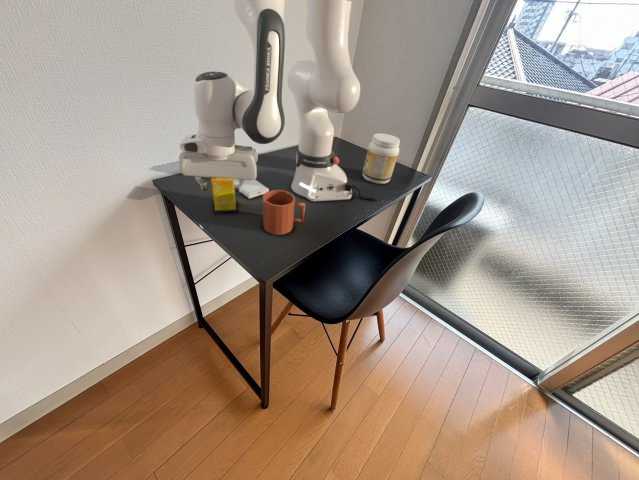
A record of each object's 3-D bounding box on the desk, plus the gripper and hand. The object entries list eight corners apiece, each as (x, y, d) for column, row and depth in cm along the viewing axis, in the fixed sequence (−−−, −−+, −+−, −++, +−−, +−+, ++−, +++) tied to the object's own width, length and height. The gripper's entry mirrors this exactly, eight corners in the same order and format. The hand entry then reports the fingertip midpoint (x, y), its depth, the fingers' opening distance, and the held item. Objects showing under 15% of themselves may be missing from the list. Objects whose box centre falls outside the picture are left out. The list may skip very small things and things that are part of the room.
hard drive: (228, 179, 95) (248, 194, 88) (248, 174, 100) (269, 188, 93) (228, 183, 96) (248, 199, 89) (248, 178, 101) (269, 192, 94)
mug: (262, 234, 76) (262, 205, 70) (263, 217, 82) (263, 189, 77) (304, 235, 78) (307, 207, 72) (302, 218, 84) (304, 191, 79)
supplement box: (215, 202, 85) (211, 169, 79) (235, 201, 87) (232, 170, 80) (215, 213, 81) (210, 179, 74) (236, 212, 83) (233, 179, 76)
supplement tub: (362, 169, 120) (371, 130, 109) (389, 174, 119) (401, 135, 109) (360, 181, 110) (370, 139, 100) (390, 187, 109) (403, 145, 99)
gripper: (258, 143, 76) (258, 187, 84) (179, 135, 72) (187, 183, 80) (257, 151, 71) (257, 197, 79) (172, 143, 67) (182, 193, 76)
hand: (221, 190), depth 80 cm, fingers open, 8 cm apart
